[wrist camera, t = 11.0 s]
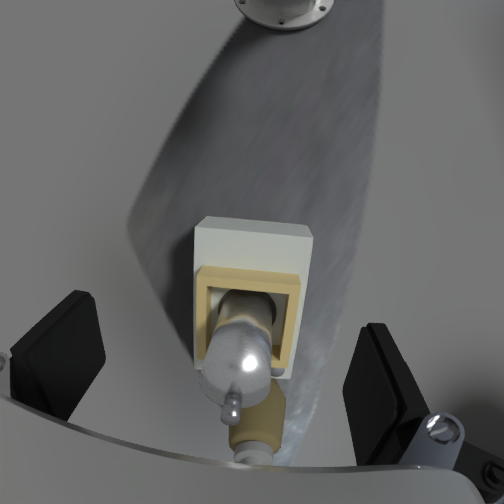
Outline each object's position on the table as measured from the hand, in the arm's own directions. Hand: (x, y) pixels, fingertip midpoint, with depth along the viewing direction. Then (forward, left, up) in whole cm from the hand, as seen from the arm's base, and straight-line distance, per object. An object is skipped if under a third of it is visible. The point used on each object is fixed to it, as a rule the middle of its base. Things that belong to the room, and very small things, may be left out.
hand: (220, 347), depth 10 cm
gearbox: (+10, 0, -28) cm, 30 cm away
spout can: (+10, 0, -22) cm, 24 cm away
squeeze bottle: (+26, +2, -28) cm, 39 cm away
